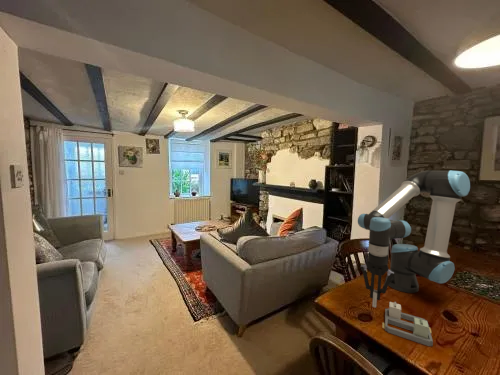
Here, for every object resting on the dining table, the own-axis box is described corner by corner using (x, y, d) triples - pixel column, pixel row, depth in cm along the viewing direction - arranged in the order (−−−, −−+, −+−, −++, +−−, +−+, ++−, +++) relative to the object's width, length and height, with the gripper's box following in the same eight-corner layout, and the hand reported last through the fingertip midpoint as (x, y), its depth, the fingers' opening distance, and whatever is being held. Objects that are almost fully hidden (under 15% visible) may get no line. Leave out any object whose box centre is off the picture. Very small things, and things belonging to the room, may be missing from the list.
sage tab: (412, 331, 87) (414, 315, 86) (425, 335, 85) (427, 319, 84) (413, 338, 83) (415, 321, 83) (427, 342, 81) (429, 325, 81)
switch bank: (381, 313, 100) (382, 306, 99) (430, 327, 91) (430, 320, 91) (381, 333, 88) (381, 325, 87) (436, 352, 79) (437, 344, 78)
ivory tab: (388, 314, 97) (389, 299, 96) (399, 317, 95) (400, 302, 94) (388, 319, 93) (389, 304, 93) (400, 323, 91) (401, 307, 91)
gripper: (360, 253, 96) (357, 305, 98) (396, 260, 89) (392, 315, 91) (361, 247, 102) (358, 296, 104) (395, 254, 95) (391, 306, 98)
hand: (374, 305), depth 98 cm, fingers closed
